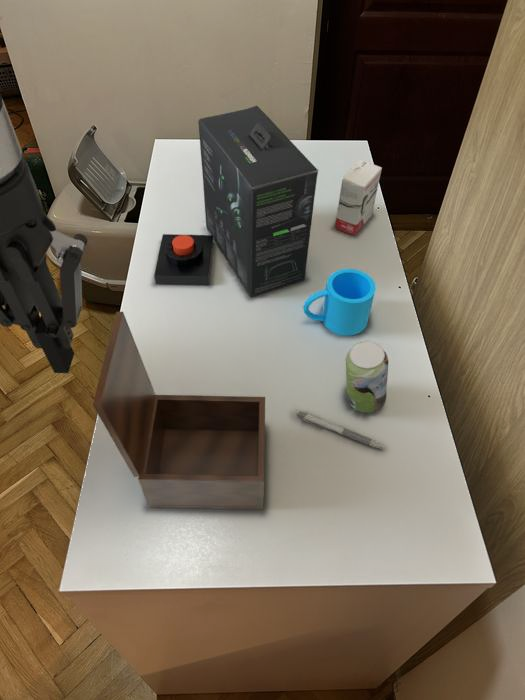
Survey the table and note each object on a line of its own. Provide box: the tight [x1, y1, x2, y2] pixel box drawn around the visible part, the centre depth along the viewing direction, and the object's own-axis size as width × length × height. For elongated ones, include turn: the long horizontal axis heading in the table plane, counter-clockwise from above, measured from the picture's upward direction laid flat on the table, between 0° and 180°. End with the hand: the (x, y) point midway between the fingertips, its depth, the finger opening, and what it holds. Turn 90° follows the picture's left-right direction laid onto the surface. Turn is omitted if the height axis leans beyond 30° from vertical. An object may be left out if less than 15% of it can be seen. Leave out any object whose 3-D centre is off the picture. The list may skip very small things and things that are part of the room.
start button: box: [172, 234, 194, 255], centre depth 100 cm, size 4×4×2 cm
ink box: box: [334, 159, 383, 236], centre depth 108 cm, size 9×5×12 cm, turn 147°
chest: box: [137, 394, 266, 511], centre depth 73 cm, size 16×13×9 cm
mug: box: [302, 268, 377, 337], centre depth 91 cm, size 12×8×8 cm
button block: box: [153, 233, 215, 286], centre depth 102 cm, size 10×12×4 cm
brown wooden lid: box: [92, 311, 156, 478], centre depth 63 cm, size 16×13×1 cm
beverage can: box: [345, 340, 389, 413], centre depth 79 cm, size 6×7×12 cm
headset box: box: [197, 105, 319, 298], centre depth 95 cm, size 22×12×26 cm, turn 26°
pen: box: [295, 410, 385, 449], centre depth 80 cm, size 1×14×1 cm, turn 64°
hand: (64, 362), depth 57 cm, fingers closed
